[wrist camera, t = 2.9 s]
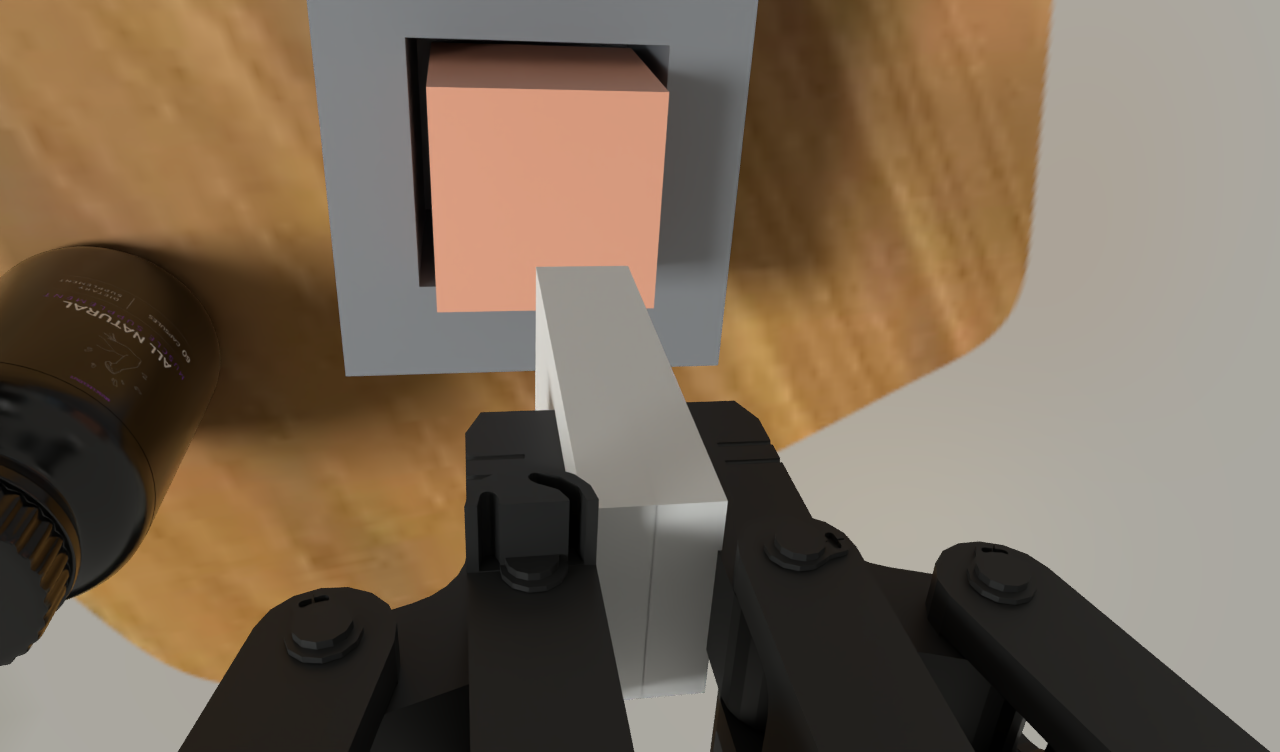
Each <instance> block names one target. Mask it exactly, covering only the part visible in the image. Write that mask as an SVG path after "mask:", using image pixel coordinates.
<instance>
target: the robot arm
mask: <svg viewBox="0 0 1280 752" xmlns="http://www.w3.org/2000/svg"><path fill="white" fill-rule="evenodd" d="M465 440H466V503H465V506H464V511H465V538H466V561H465V564H464V566H463V567H462V569H461V571H460V573H459V574H458V576H457V577H455V578H454V579H453V580H452V581H451V582H450V583H449V584H448V585H447V586H446V587H445V588H443V589H441V590H440V591H438V592H437V593H435V594H433V595H432V596H430V597H427V598H425V599H422V600H420V601H417V602H415V603H412V604H409V605H406V606H402V607H399V608H396V609H393V610H391V608H390V606H389V605H388V604H387V603H386V602H384V601H383V600H381V599H380V598H378V597H377V596H375V595H374V594H373V593H370V592H366V591H362V590H358V589H353V588H349V587H341V588H320V589H317V590H313V591H310V592H306V593H303V594H299V595H296V596H293V597H291V598H290V599H288V600H286V601H284V602H283V603H281V604H279V605H278V606H276V607H274V608H272V609H271V610H270V611H269V612H268V613H267V614H266V615H265V616H264V617H263V618H262V619H261V620H260V621H259V623H258V624H257V625H256V626H255V627H254V628H253V630H252V631H251V633H250V635H249V636H248V638H247V640H246V641H245V643H244V644H243V646H242V648H241V649H240V651H239V653H238V654H237V656H236V658H235V659H234V661H233V662H232V664H231V666H230V667H229V669H228V671H227V672H226V674H225V676H224V677H223V679H222V680H221V682H220V684H219V685H218V687H217V689H216V690H215V692H214V694H213V695H212V697H211V699H210V700H209V702H208V703H207V705H206V707H205V708H204V710H203V712H202V713H201V715H200V717H199V718H198V720H197V721H196V723H195V725H194V726H193V728H192V730H191V731H190V733H189V735H188V736H187V738H186V739H185V741H184V743H183V744H182V746H181V748H180V749H179V751H178V752H634V748H633V743H632V738H631V733H630V729H629V724H628V719H627V714H626V709H625V704H624V700H630V699H641V698H651V697H662V696H674V695H684V694H694V693H695V694H696V693H704V692H705V686H706V677H707V669H708V661H709V660H710V663H711V667H712V669H713V673H714V676H715V679H716V682H717V685H718V696H717V703H716V711H715V719H714V727H713V734H712V742H711V749H710V752H1270V751H1269V750H1267V749H1266V748H1265V747H1264V746H1263V745H1261V744H1260V743H1259V742H1258V741H1256V740H1255V739H1254V738H1253V737H1252V736H1250V735H1249V734H1248V733H1247V732H1246V731H1244V730H1243V729H1242V728H1241V727H1240V726H1238V725H1237V724H1236V723H1235V722H1234V721H1232V720H1231V719H1230V718H1229V717H1228V716H1226V715H1225V714H1224V713H1223V712H1221V711H1220V710H1219V709H1218V708H1217V707H1215V706H1214V705H1213V704H1212V703H1211V702H1209V701H1208V700H1207V699H1206V698H1205V697H1203V696H1202V695H1201V694H1200V693H1198V692H1197V691H1196V690H1195V689H1194V688H1192V687H1191V686H1190V685H1189V684H1188V683H1187V682H1185V681H1184V680H1183V679H1182V678H1181V677H1179V676H1178V675H1177V674H1176V673H1174V672H1173V671H1172V670H1171V669H1170V668H1168V667H1167V666H1166V665H1165V664H1164V663H1162V662H1161V661H1160V660H1159V659H1158V658H1156V657H1155V656H1154V655H1153V654H1152V653H1150V652H1149V651H1148V650H1147V649H1145V648H1144V647H1143V646H1142V645H1141V644H1139V643H1138V642H1137V641H1136V640H1135V639H1133V638H1132V637H1131V636H1130V635H1129V634H1127V633H1126V632H1125V631H1124V630H1123V629H1121V628H1120V627H1119V626H1118V625H1116V624H1115V623H1114V622H1113V621H1112V620H1110V619H1109V618H1108V617H1107V616H1106V615H1105V614H1103V613H1102V612H1101V611H1100V610H1098V609H1097V608H1096V607H1095V606H1094V605H1092V604H1091V603H1090V602H1089V601H1087V600H1086V599H1085V598H1084V597H1083V596H1081V595H1080V594H1079V593H1078V592H1077V591H1076V590H1074V589H1073V588H1072V587H1071V586H1069V585H1068V584H1067V583H1066V582H1065V581H1063V580H1062V579H1061V578H1060V577H1059V576H1057V575H1056V574H1055V573H1054V572H1053V571H1051V570H1050V569H1049V568H1048V567H1046V566H1045V565H1043V564H1042V563H1040V562H1039V561H1037V560H1035V559H1034V558H1032V557H1031V556H1029V555H1028V554H1025V553H1023V552H1020V551H1017V550H1015V549H1012V548H1009V547H1007V546H1004V545H999V544H992V543H985V542H969V543H959V544H956V545H954V546H952V547H950V548H948V549H946V550H944V551H942V553H941V555H940V557H939V558H938V560H937V561H936V563H935V567H934V571H933V574H929V573H923V572H917V571H910V570H904V569H897V568H891V567H886V566H881V565H877V564H872V563H869V562H866V561H864V559H863V558H862V556H861V554H860V552H859V550H858V549H857V548H856V546H855V545H854V544H853V543H852V541H851V540H850V539H849V538H848V537H847V536H846V535H845V534H844V533H843V532H841V531H840V530H838V529H836V528H835V527H833V526H831V525H829V524H828V523H826V522H823V521H820V520H816V519H813V518H812V516H811V515H810V513H809V511H808V509H807V507H806V505H805V504H804V502H803V500H802V498H801V496H800V494H799V492H798V491H797V489H796V488H795V485H794V483H793V482H792V480H791V478H790V476H789V474H788V472H787V470H786V468H785V467H784V465H783V463H782V462H781V463H780V457H779V455H778V454H777V452H776V450H775V448H774V446H773V445H771V444H770V439H769V437H768V435H767V433H766V431H765V430H764V428H763V426H762V424H761V422H760V420H759V419H758V418H757V417H755V416H754V415H753V414H751V413H750V412H749V411H747V410H746V409H745V408H743V407H742V406H741V405H739V404H738V403H737V402H735V401H713V402H686V401H685V399H684V397H683V394H682V392H681V390H680V387H679V385H678V382H677V380H676V378H675V375H674V373H673V371H672V368H671V366H670V364H669V361H668V359H667V357H666V354H665V352H664V349H663V347H662V345H661V342H660V340H659V338H658V335H657V333H656V331H655V328H654V326H653V324H652V321H651V319H650V316H649V314H648V312H647V309H646V307H645V305H644V302H643V300H642V298H641V295H640V293H639V290H638V288H637V286H636V283H635V281H634V279H633V276H632V274H631V272H630V269H629V267H628V266H563V267H536V365H535V411H509V412H481V413H480V414H479V416H478V417H477V418H476V420H475V421H474V422H473V424H472V425H471V426H470V428H469V429H468V430H467V432H466V433H465ZM1026 721H1027V722H1028V723H1029V724H1030V725H1031V726H1032V727H1033V728H1034V729H1035V730H1036V731H1037V732H1038V733H1039V734H1040V735H1041V736H1042V737H1043V738H1044V739H1045V741H1046V742H1047V743H1048V745H1047V747H1046V749H1045V750H1042V749H1039V748H1038V747H1037V746H1035V745H1034V744H1033V743H1031V742H1030V741H1029V740H1028V739H1027V738H1026V737H1025V736H1024V734H1022V731H1023V728H1024V725H1025V722H1026Z"/></svg>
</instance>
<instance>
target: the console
mask: <svg viewBox="0 0 1280 752" xmlns="http://www.w3.org/2000/svg"><path fill="white" fill-rule="evenodd" d="M307 7H308V17H309V26H310V36H311V46H312V55H313V65H314V74H315V84H316V94H317V103H318V113H319V123H320V132H321V142H322V152H323V161H324V171H325V181H326V190H327V200H328V210H329V219H330V229H331V238H332V248H333V258H334V267H335V277H336V287H337V296H338V306H339V316H340V325H341V335H342V345H343V354H344V364H345V374H346V376H374V375H407V374H441V373H474V372H508V371H535V365H536V311H484V312H437V299H436V279H435V258H434V238H433V218H432V197H431V177H430V157H429V136H428V116H427V95H426V83H427V74H428V66H429V57H430V48H431V42H445V43H478V44H511V45H544V46H578V47H611V48H631V49H632V50H633V51H634V52H635V53H636V54H637V55H638V57H639V58H640V59H641V60H642V61H643V62H644V64H645V65H646V66H647V67H648V68H649V69H650V70H651V72H652V73H653V74H654V75H655V76H656V77H657V79H658V80H659V81H660V82H661V83H662V84H663V86H664V87H665V88H666V89H667V90H668V91H669V103H668V117H667V131H666V145H665V159H664V173H663V187H662V201H661V215H660V229H659V243H658V257H657V271H656V285H655V299H654V308H646V309H647V312H648V314H649V316H650V319H651V321H652V324H653V326H654V328H655V331H656V333H657V335H658V338H659V340H660V342H661V345H662V347H663V349H664V352H665V354H666V357H667V359H668V361H669V364H670V366H671V367H675V366H708V365H718V360H719V351H720V342H721V333H722V324H723V315H724V306H725V297H726V288H727V279H728V269H729V260H730V251H731V242H732V233H733V224H734V215H735V206H736V197H737V188H738V179H739V170H740V161H741V152H742V143H743V134H744V125H745V116H746V107H747V98H748V89H749V80H750V70H751V61H752V52H753V43H754V34H755V25H756V16H757V7H758V0H307Z"/></svg>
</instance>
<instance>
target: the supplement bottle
mask: <svg viewBox="0 0 1280 752" xmlns="http://www.w3.org/2000/svg"><path fill="white" fill-rule="evenodd" d="M220 363H221V358H220V347H219V341H218V338H217V334H216V331H215V328H214V326H213V323H212V321H211V319H210V317H209V315H208V313H207V312H206V310H205V309H204V307H203V306H202V304H201V303H200V302H199V300H198V299H197V298H196V297H195V295H194V294H193V293H192V292H191V291H190V290H189V289H188V288H187V287H186V286H185V285H184V284H182V283H181V282H180V281H179V280H178V279H176V278H175V277H174V276H172V275H171V274H170V273H168V272H167V271H165V270H164V269H162V268H160V267H159V266H157V265H155V264H153V263H151V262H149V261H147V260H145V259H142V258H140V257H138V256H135V255H132V254H129V253H126V252H122V251H118V250H114V249H108V248H102V247H91V246H76V247H65V248H59V249H54V250H50V251H46V252H43V253H40V254H37V255H35V256H32V257H30V258H28V259H26V260H24V261H22V262H21V263H19V264H17V265H16V266H14V267H13V268H11V269H10V270H9V271H7V272H6V273H5V274H4V275H3V276H1V277H0V666H2V665H8V664H11V662H13V660H14V659H15V658H16V657H17V656H20V655H23V654H25V653H26V652H28V650H29V649H30V648H31V646H32V645H33V643H35V642H36V641H37V640H39V639H40V637H41V636H42V634H43V633H44V631H45V629H46V628H47V626H48V624H49V622H50V621H51V619H52V617H53V615H54V613H55V611H57V610H58V609H59V608H60V606H61V605H62V604H63V603H64V601H65V600H68V599H70V598H73V597H75V596H78V595H81V594H83V593H85V592H87V591H89V590H91V589H93V588H95V587H96V586H98V585H100V584H101V583H103V582H105V581H106V580H108V579H109V578H110V577H112V576H113V575H114V574H116V573H117V572H118V571H119V570H120V569H121V568H122V567H123V566H124V565H125V564H126V563H127V562H128V561H129V560H130V559H131V557H132V556H133V555H134V554H135V552H136V551H137V549H138V548H139V546H140V544H141V543H142V541H143V539H144V538H145V536H146V534H147V532H148V530H149V528H150V526H151V524H152V522H153V520H154V518H155V516H156V514H157V512H158V509H159V507H160V505H161V503H162V501H163V499H164V497H165V495H166V493H167V491H168V489H169V486H170V484H171V482H172V480H173V478H174V476H175V474H176V472H177V470H178V468H179V465H180V463H181V461H182V459H183V457H184V455H185V453H186V451H187V449H188V447H189V445H190V442H191V440H192V438H193V436H194V434H195V432H196V430H197V428H198V426H199V424H200V422H201V419H202V417H203V415H204V413H205V411H206V409H207V407H208V405H209V402H210V400H211V397H212V395H213V393H214V391H215V388H216V385H217V381H218V378H219V372H220Z"/></svg>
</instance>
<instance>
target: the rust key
mask: <svg viewBox="0 0 1280 752" xmlns="http://www.w3.org/2000/svg"><path fill="white" fill-rule="evenodd" d="M426 95H427V116H428V136H429V157H430V177H431V197H432V218H433V238H434V258H435V279H436V299H437V312H484V311H536V267H563V266H628V267H629V269H630V272H631V274H632V276H633V279H634V281H635V283H636V286H637V288H638V290H639V293H640V295H641V298H642V300H643V302H644V305H645V307H646V308H654V299H655V285H656V271H657V257H658V243H659V229H660V215H661V201H662V187H663V173H664V159H665V145H666V131H667V117H668V103H669V91H668V90H667V89H666V88H665V87H664V86H663V84H662V83H661V82H660V81H659V80H658V79H657V77H656V76H655V75H654V74H653V73H652V72H651V70H650V69H649V68H648V67H647V66H646V65H645V64H644V62H643V61H642V60H641V59H640V58H639V57H638V55H637V54H636V53H635V52H634V51H633V50H632V49H631V48H611V47H578V46H544V45H511V44H478V43H445V42H431V48H430V57H429V66H428V74H427V83H426Z"/></svg>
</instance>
